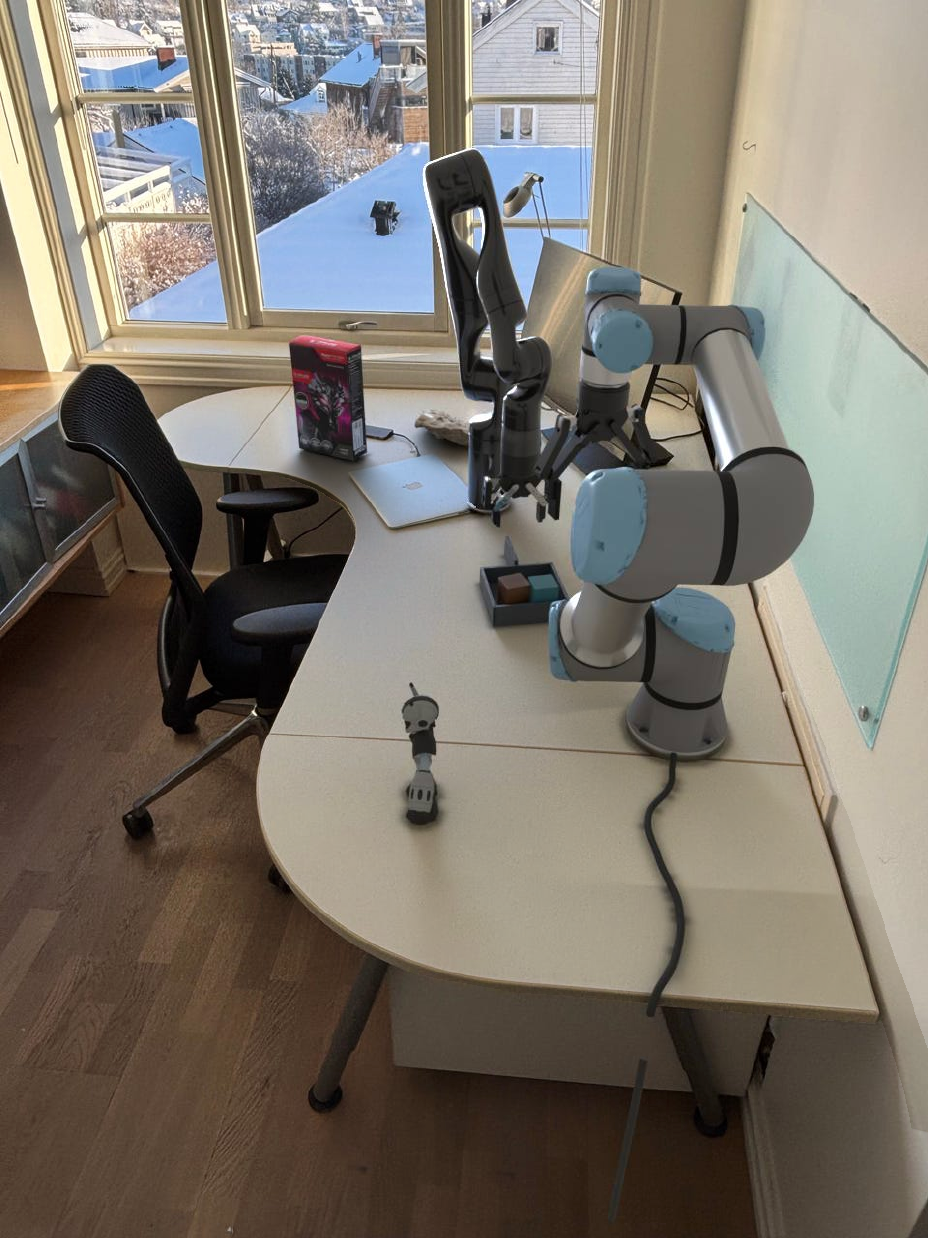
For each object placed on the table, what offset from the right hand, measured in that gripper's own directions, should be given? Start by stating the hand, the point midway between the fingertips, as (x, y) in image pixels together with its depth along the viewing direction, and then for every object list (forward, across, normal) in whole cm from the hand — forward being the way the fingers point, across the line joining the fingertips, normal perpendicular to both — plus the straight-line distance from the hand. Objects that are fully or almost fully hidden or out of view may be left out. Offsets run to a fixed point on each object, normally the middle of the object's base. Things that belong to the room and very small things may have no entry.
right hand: (592, 510), depth 147 cm
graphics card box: (+27, +22, -96) cm, 102 cm away
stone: (+27, -8, -94) cm, 98 cm away
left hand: (+18, -1, -31) cm, 35 cm away
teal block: (+26, +2, -12) cm, 29 cm away
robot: (+27, +38, +27) cm, 54 cm away
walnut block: (+26, +7, -14) cm, 30 cm away
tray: (+27, +3, -21) cm, 34 cm away
